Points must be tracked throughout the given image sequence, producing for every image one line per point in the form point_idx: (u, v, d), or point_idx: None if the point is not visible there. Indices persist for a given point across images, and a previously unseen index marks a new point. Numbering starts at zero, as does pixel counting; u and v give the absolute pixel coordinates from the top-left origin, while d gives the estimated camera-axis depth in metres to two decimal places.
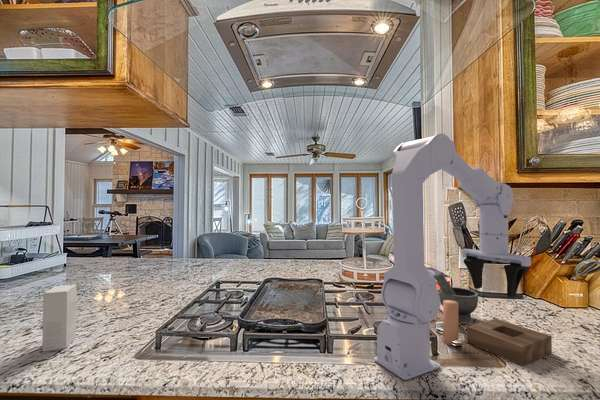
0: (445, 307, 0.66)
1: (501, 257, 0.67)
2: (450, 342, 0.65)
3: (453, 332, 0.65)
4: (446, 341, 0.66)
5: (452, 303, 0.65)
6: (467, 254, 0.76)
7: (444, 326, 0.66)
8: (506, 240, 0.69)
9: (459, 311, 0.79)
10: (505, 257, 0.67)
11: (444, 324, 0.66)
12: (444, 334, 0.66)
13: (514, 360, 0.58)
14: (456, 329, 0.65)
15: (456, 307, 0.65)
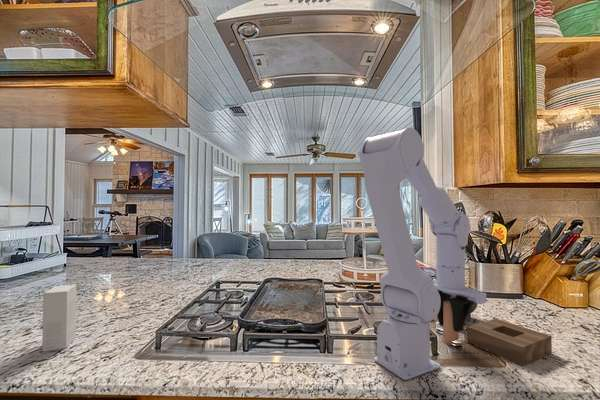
0: (445, 307, 0.66)
1: (456, 292, 0.63)
2: (450, 342, 0.65)
3: (453, 332, 0.65)
4: (446, 341, 0.66)
5: None
6: None
7: (444, 326, 0.66)
8: (462, 273, 0.64)
9: None
10: (460, 292, 0.62)
11: (444, 324, 0.66)
12: (444, 334, 0.66)
13: (514, 360, 0.58)
14: None
15: None
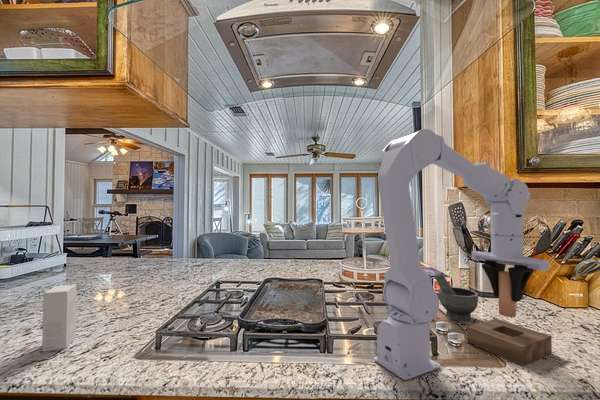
0: (501, 277, 0.64)
1: (516, 261, 0.61)
2: (507, 313, 0.63)
3: (510, 302, 0.63)
4: (503, 312, 0.64)
5: None
6: (477, 257, 0.70)
7: (500, 297, 0.64)
8: (521, 242, 0.62)
9: (459, 311, 0.79)
10: (520, 261, 0.61)
11: (500, 295, 0.64)
12: (500, 305, 0.64)
13: (514, 360, 0.58)
14: None
15: None
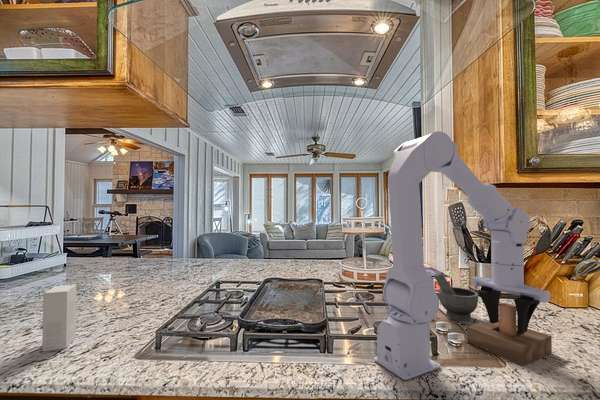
0: (502, 310, 0.64)
1: (516, 290, 0.61)
2: None
3: (511, 336, 0.63)
4: None
5: (510, 307, 0.63)
6: (477, 283, 0.70)
7: (501, 330, 0.64)
8: (521, 271, 0.62)
9: (459, 311, 0.79)
10: (521, 291, 0.60)
11: (501, 328, 0.64)
12: None
13: (514, 360, 0.58)
14: (514, 333, 0.63)
15: (514, 311, 0.63)
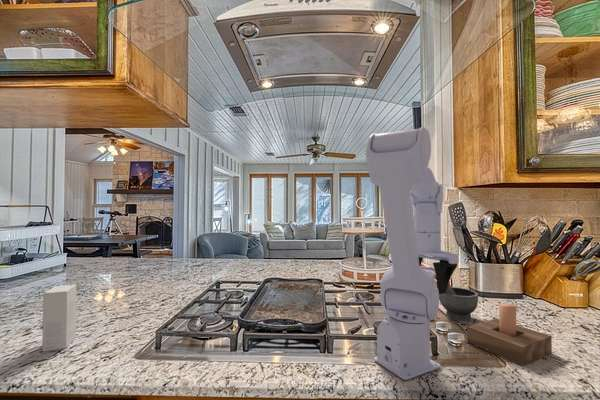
0: (502, 310, 0.64)
1: (431, 254, 0.68)
2: None
3: (511, 336, 0.63)
4: None
5: (510, 307, 0.63)
6: None
7: (501, 330, 0.64)
8: (437, 238, 0.70)
9: (459, 311, 0.79)
10: (435, 254, 0.68)
11: (501, 328, 0.64)
12: None
13: (514, 360, 0.58)
14: (514, 333, 0.63)
15: (514, 311, 0.63)
